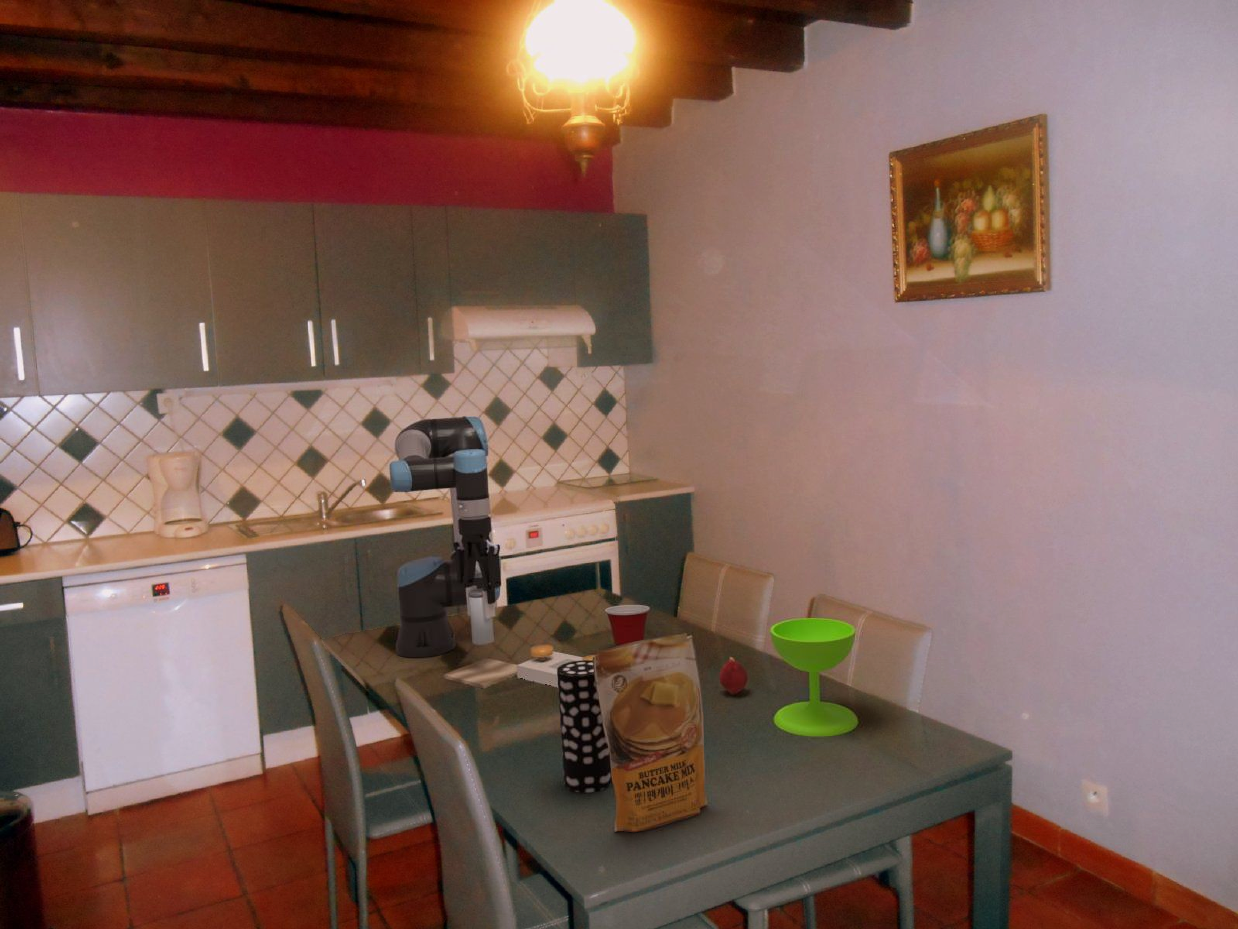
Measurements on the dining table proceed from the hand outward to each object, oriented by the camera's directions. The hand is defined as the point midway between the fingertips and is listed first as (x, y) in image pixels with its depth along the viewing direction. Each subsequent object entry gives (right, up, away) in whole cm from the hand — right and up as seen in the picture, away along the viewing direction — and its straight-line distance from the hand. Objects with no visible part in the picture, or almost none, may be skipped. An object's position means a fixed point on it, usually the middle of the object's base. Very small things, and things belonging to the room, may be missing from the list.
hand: (481, 615), depth 217 cm
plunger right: (+27, -12, -9) cm, 31 cm away
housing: (+20, -14, -4) cm, 25 cm away
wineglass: (+70, -14, -37) cm, 80 cm away
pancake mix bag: (+38, -20, -71) cm, 83 cm away
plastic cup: (+35, -11, +10) cm, 38 cm away
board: (+1, -14, +2) cm, 14 cm away
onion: (+56, -14, -21) cm, 61 cm away
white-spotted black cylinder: (+27, -19, -58) cm, 67 cm away
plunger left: (+14, -12, +1) cm, 19 cm away
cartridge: (0, -6, +1) cm, 6 cm away
